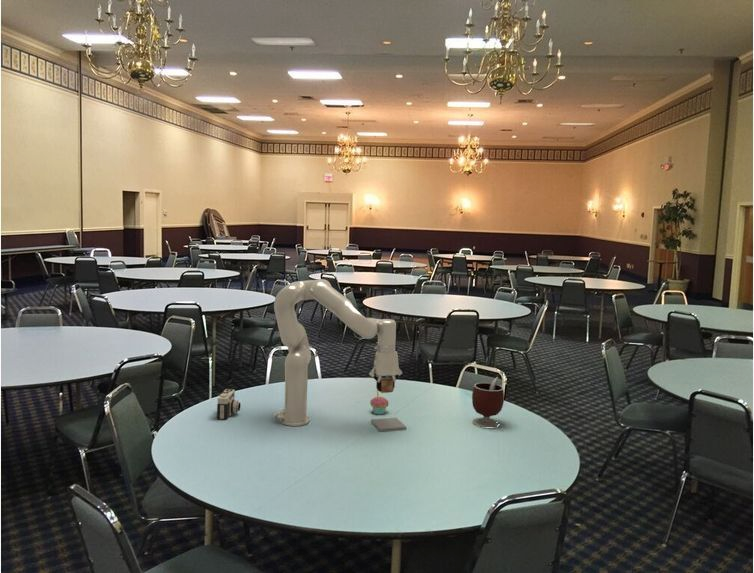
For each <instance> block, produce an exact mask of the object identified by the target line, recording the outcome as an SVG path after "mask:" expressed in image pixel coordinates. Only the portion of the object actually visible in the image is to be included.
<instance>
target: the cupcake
mask: <svg viewBox="0 0 754 573" xmlns="http://www.w3.org/2000/svg"><path fill="white" fill-rule="evenodd" d="M379 395H380V394H379V391H378V390H377V389H376V397H373V398H372V399H370V403H369V404H370V406H371V407H372V411H373V414H376V415H383V414H384V413H385V411H386V409H387V407H389V401H388V400H387V399H386V398H385V397H382V396H379Z"/></svg>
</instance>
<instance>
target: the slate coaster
mask: <svg viewBox="0 0 754 573" xmlns="http://www.w3.org/2000/svg"><path fill="white" fill-rule="evenodd" d="M370 423H371V424H372V425H373V426H374V428H376V429H377V431H379V432H381V433H382V432H391V431H393V432H394V431H403V430H407V425H405V424H404V423H403V422H401V420H399V419H398V418H397V417H386V418H373V419H372V418H371V419H370Z"/></svg>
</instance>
